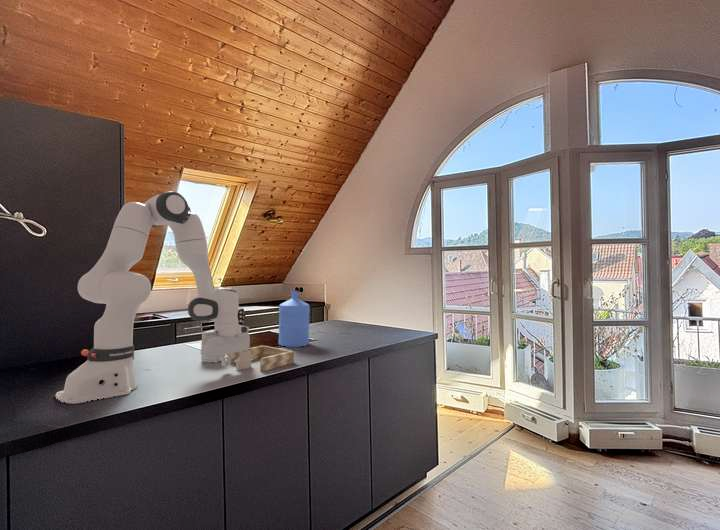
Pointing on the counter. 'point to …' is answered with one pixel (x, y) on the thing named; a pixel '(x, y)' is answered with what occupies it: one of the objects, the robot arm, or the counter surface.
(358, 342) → the counter surface
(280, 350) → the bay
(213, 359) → the supplement box
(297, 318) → the water jug
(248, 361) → the architectural model
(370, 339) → the counter surface
